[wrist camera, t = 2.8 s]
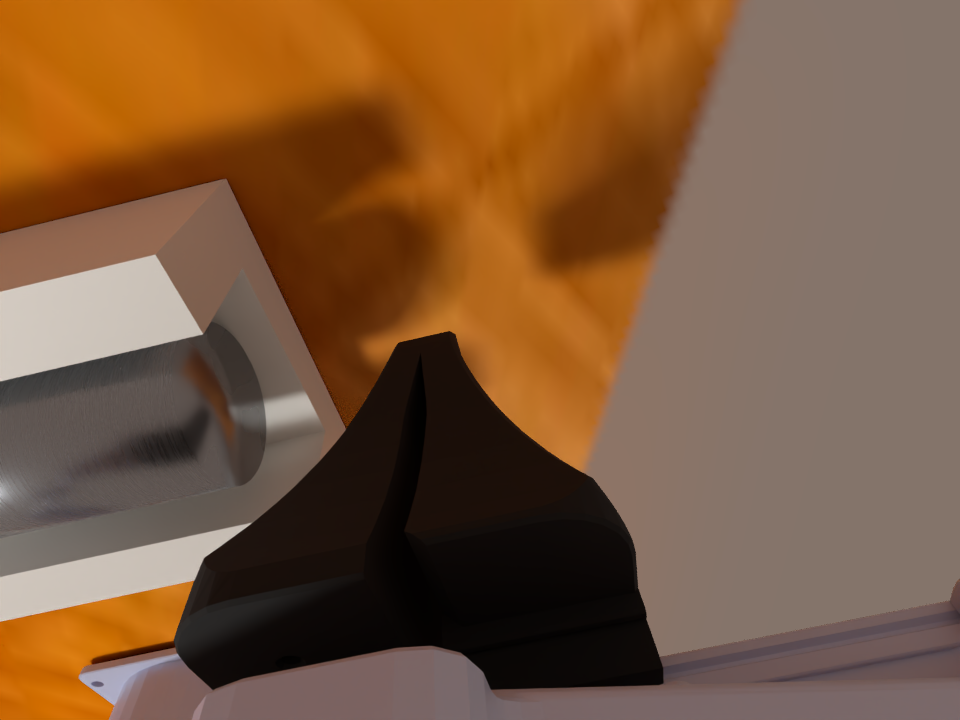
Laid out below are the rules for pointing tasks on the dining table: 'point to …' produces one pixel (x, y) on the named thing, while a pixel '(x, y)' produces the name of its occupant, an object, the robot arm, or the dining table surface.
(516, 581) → the robot arm
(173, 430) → the axle
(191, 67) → the dining table surface
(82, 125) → the dining table surface
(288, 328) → the white channel tray
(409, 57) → the dining table surface
